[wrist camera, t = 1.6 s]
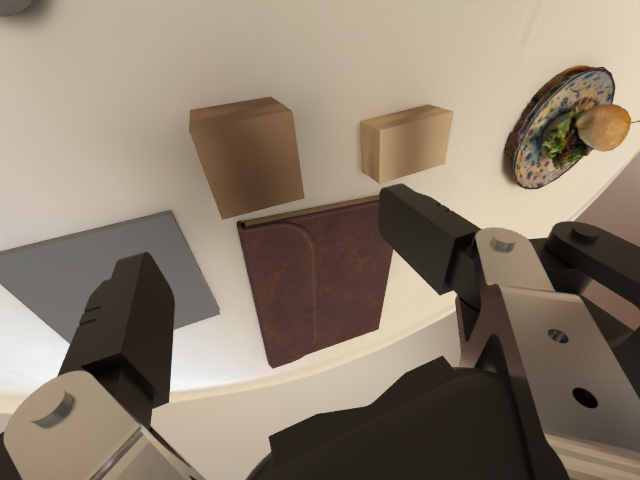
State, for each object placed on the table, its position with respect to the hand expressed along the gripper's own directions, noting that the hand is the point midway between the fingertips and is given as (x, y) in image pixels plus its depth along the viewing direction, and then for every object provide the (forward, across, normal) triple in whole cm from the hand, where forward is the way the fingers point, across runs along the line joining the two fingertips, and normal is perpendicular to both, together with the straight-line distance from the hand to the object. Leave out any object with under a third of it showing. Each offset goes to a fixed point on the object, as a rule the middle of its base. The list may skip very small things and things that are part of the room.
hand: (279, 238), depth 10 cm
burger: (+12, -31, +5) cm, 34 cm away
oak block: (+12, -12, +2) cm, 17 cm away
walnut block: (+12, 0, 0) cm, 12 cm away
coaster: (+12, +11, +9) cm, 19 cm away
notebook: (+12, -5, +16) cm, 21 cm away
